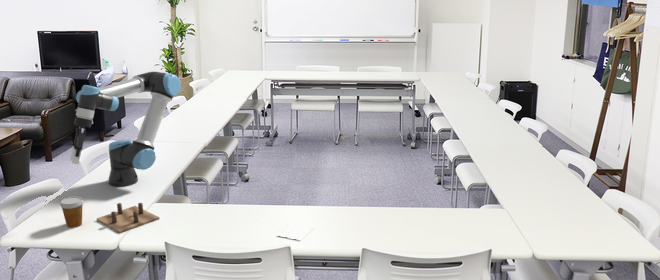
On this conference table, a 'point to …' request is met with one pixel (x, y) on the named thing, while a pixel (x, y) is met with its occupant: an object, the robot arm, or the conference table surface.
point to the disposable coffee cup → (72, 211)
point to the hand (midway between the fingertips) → (74, 162)
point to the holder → (127, 218)
